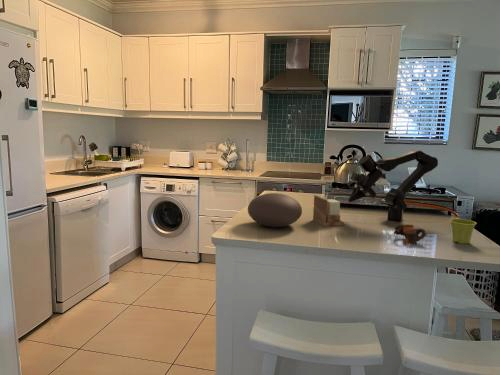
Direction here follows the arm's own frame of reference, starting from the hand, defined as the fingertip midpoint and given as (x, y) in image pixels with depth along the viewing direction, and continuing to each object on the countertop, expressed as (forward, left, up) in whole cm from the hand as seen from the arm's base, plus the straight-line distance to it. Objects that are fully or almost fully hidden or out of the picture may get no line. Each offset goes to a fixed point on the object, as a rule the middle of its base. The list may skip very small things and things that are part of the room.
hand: (349, 201), depth 183 cm
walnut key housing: (+7, +7, -10) cm, 15 cm away
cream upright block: (+6, +6, -8) cm, 12 cm away
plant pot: (-49, +5, -10) cm, 50 cm away
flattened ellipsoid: (+26, +28, -10) cm, 40 cm away
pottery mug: (-31, +18, -11) cm, 37 cm away
